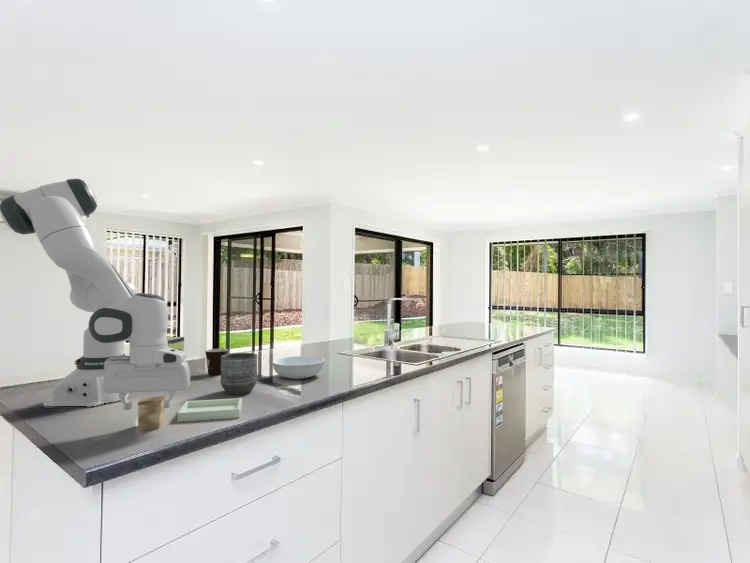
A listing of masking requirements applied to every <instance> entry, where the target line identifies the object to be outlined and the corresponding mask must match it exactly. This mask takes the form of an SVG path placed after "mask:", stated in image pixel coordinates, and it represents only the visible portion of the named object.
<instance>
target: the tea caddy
mask: <svg viewBox="0 0 750 563" xmlns="http://www.w3.org/2000/svg"><path fill="white" fill-rule="evenodd" d="M165 400H166V396H165V395H164V396H163V395H161V396H144V397H142V398H141V399H140V400H139V401H138V402H137V405H138V407H137V411H138V412H137V431H145V430H144V429H148V430H157V428H160V429H161V427H162V426H163V425H164V424H165V408H164V407H163V406H164V401H165ZM162 424H163V425H162ZM161 425H162V426H161Z"/></svg>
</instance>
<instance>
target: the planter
mask: <svg viewBox="0 0 750 563" xmlns="http://www.w3.org/2000/svg"><path fill="white" fill-rule="evenodd" d="M257 381H258V354H256V353H254V352H234V353H233V352H232V353H227V354H226V355H222V356H221V375H220V385H221V387H222V388H223V390H224V392H225V393H226V394H227V395H231V396H241V395H242V396H243V395H246V394H250V393H251V392H252V391H253V390H254V388H255V386H256V384H257V383H258V382H257Z"/></svg>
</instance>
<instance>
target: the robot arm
mask: <svg viewBox="0 0 750 563" xmlns="http://www.w3.org/2000/svg"><path fill="white" fill-rule="evenodd" d="M97 200H98V199H97V195H96V193H95V192H94V190H93V188H92V187H91V186H90V185H89V184H87V183H86V182H85V180H82V179H80V178H68V179H66V180H64V181H58V182H57V181H56V182H53V183H48V184H43V185H40V186H37V187H36V188H32V189H30V190H26V191H23V192H21V193H19V194H16V195H11V196H8V197H6V198H4V199H3V200H1V201H0V217H1V220H2V221H3V222H4V225H6V226H7V227H8V228H10V230H12V231H13V232H15V233H17V234H20V235H32V234H36V237H37V239H38V241H39V243H40V244H41V247H42V249H43V250H44V251H45V253H46V255H47V256H48V257H49V259H50V260H51V261H52V262H53V263H54V264H55V265H56V266H57V267H59V268H60V269H62V270H65V273H66V275H67V277H68V280H69V285H70V292H69V299H70V301H71V304H73V305H74V307H76V308H78V309H79V310H82V311H85V312H89V313H92V314H91V316H90V318H89V321H88V327H87V328H85V330H84V332H83V345H82V346H83V349H82V350H83V351H82V352H83V354H82V355H81V356H80V357H79V358H78V359H76V360H74V365H75V366H76V368H75V369H74V370H73V371H71V372H70V373H69V374H67V375H66V376H64V377H63V378H61V379H60V380H59V381H58V382H57V383H56V384H55V386H54V388H53V390H52V397H48V398H47V399H46V400H44V401H43V404H42V406H43V405H44V406H87V407H86V408H92V407H91V406H94V407H98V406H102V405H105V404H104V403H106V404H110V402H111V403H115V402H119V401H121V402H122V404H123V407H122V408H123V410H124V411H127V410H129V411H130V410H131V409H132V408H133V401H131V400H128V398H129V396H130V393H145V392H146V393H147V392H168V394H167V395H169V397H168V398H167V399H164V406H163V407H164V409H170V408H171V407H172V400H173V398H174V397H175V395H176V393H177V391H186V390H187V389H188V388H189V387H190V385H191V371H190V366H189V363H188V362H187V361H186V358H187V352H186V351H185V350H184V351H180V350H176V349H173V348H169V347H168V341H167V338H166V337H167V330H168V328H169V312H168V304H167V302H166V300H165V298H164V297H162V296H160V295H158V294H153V293H145V292H143V293H141V292H140V291H139V288H138V287H137V286H136V285H135V284H134V283H132V282H130V281H127V280H124V279H123V278H122V277H121V276H120V274H119V272H118V271H117V269H116V268H115V267H114V265H113V264H112V263H111V261H110V260H109V259H108V257H107V255H106V254H105V253H104V252H103V250H102V248H101V246H100V245H99V243H98V241H97V240H96V238H95V236H94V234H93V233H92V231H91V229H90V228H89V226H88V225H87V222H86V221H85V220H84V218H83V217H86V218H89V217H90V215H91V214H93V213H94V212H96V209H97V207H98V205H97V203H98V202H97ZM127 341H128V342H129V348H128V349H129V354H128V355H126V354H125V342H127ZM101 404H102V405H101ZM97 405H98V406H97Z"/></svg>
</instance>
